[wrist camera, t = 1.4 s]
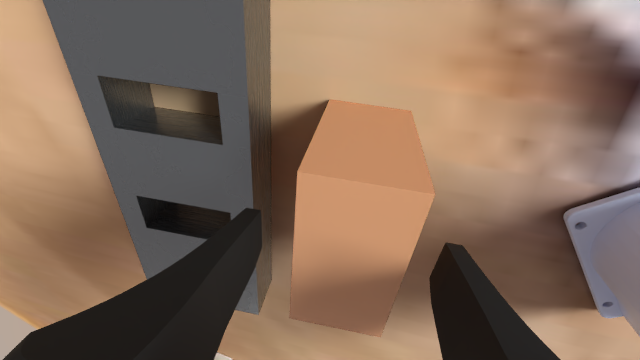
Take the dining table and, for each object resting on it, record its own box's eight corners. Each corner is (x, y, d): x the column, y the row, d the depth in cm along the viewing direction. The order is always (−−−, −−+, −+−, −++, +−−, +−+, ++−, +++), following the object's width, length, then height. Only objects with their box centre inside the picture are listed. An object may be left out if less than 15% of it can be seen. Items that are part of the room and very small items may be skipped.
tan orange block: (379, 227, 18) (380, 337, 12) (316, 216, 19) (289, 318, 13) (411, 110, 14) (435, 194, 8) (329, 99, 14) (297, 171, 9)
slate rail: (271, 279, 23) (258, 314, 20) (175, 260, 23) (151, 292, 21) (269, -105, 11) (236, -135, 8) (71, -121, 11) (-15, -153, 9)
